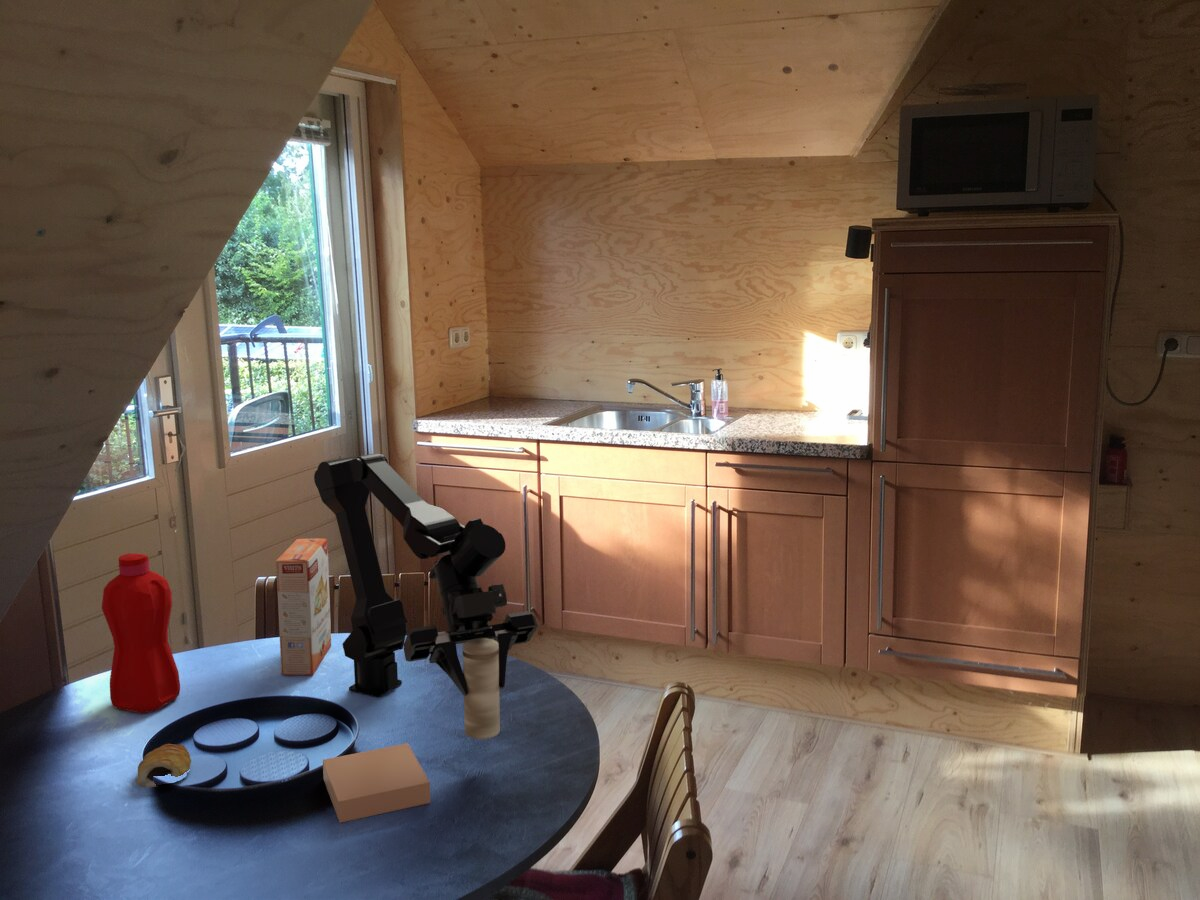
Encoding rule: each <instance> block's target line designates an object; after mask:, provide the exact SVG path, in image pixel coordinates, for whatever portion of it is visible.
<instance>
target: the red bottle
mask: <svg viewBox="0 0 1200 900" xmlns="http://www.w3.org/2000/svg"><path fill="white" fill-rule="evenodd" d="M150 568H151V567H150V559H149V555H148V554H142V553H129V552H128V553H124V554H122V555H120V556H119V557H118V570H119V571H118V572H119V574H118V575H116V576H115V577H114V578H112V579H111V580H110V581H108V582H107V584H106V585H105V586H104V588H103V591H102V602H101V610H102V612H103V615H104V619H105V620H106V623H107V626H108V628H109V631H110V633H111V636H112V641H113V646H114V650H113V656H112V662H111V669H110V676H109V699H110V701H111V704H112V706H113V707H114V708H116V709H117V710H123V711H129V712H134V713H137V714H138V713H139V714H146V713H150V712H151V713H152V712H155V711H157V710H158V709H161V708H162V707H164V706H165V705H167V704H168V703H171V702H173V701H174V700H176V699H177V698H178V697H179V696H180V693H181V692H180V691H181V681H180V674H179V670H178V667H177V664H176V661H175V657H174V655H173V653H172V652H173V651H172V650H171V646H170V642H169V641H168V640H169V631H168V629H169V625H170V620H171V619H170V618H171V613H172V607H173V597H172V596H173V593H172V590H171V587H170V585H169V582H168V580H167V579H166V578H165V577H164V576H162V575H161V574H159V573H157V572H154V571H152V570H150Z"/></svg>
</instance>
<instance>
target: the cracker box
mask: <svg viewBox="0 0 1200 900" xmlns="http://www.w3.org/2000/svg"><path fill="white" fill-rule="evenodd" d="M328 542H329V541H328V538H321V537H320V538H319V537H318V538H317V537H316V538H296V540H295V541H294V542H293V543H292V544H291V545H289V547H288V548H287V549H286V550H285V551H284V552H283V553H282V554H281V555H280V556H279V557H278V558H277V559H276V561H275V567H276V568H275V569H276V571H275V572H276V587H277V607H278V608H277V609H278V631H279V649H280V652H279V653H280V671H281V676H313V675H314V674H315V673H316V671H317V669H318V667H319V666H320V664H321V663H322V661H323V659H324V658H325V656H326V655H327V653H328V651H329V650H330V648H331V647H332V632H331V630H332V629H331V627H332V625H331V603H330V602H331V598H330V597H331V596H330V576H329V575H330V573H329V552H328V551H329V548H328V547H329V546H328V545H329V543H328Z"/></svg>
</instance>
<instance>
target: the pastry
mask: <svg viewBox="0 0 1200 900" xmlns="http://www.w3.org/2000/svg"><path fill="white" fill-rule="evenodd" d="M191 764H192V759H191V755H190V753H189V751H188V749H187V748H186V746H185V745H184V744H176V743H175V744H172V743H165V744H162V745H161V746H159V747H157V748H154V749H153V750H151V751H149V752H148V753H146V754H145V755H144V757H143V759H142V760H141V761H140V762H139V764H138V766H137V776H136V778H135V781H136V784H138V785H139V787H142V788H155V787H157V786H156V784H155V783H154V780H153V776H165V775H168V774H171V776H175V777H178V776H181V775H183V774H184V773H185V772H187V771H188V770H189V769H190V770H191Z"/></svg>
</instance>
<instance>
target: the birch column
mask: <svg viewBox="0 0 1200 900" xmlns="http://www.w3.org/2000/svg"><path fill="white" fill-rule="evenodd" d="M461 650H462V653H461V654H462V668H463V669H462V671H463V674H464V677H465V680H466V685H467V690H468V694H467V695H466V696H464V695H463V709H464V710H463V713H464V714H463V715H464V717H463V719H464V721H463V722H464V734H465V735H466V736H467V737H469V738H472V739H476V740H484V739H490V738H493V737H494V738H495V737H496V736H498V734H499V733H500V732H501V720H500V719H501V717H500V714H501V711H500V687H499V644H498V642H497V641H495V640H492V639H487V638H477V639H472V640H469V641H466V642H465V643H462V649H461Z"/></svg>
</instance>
